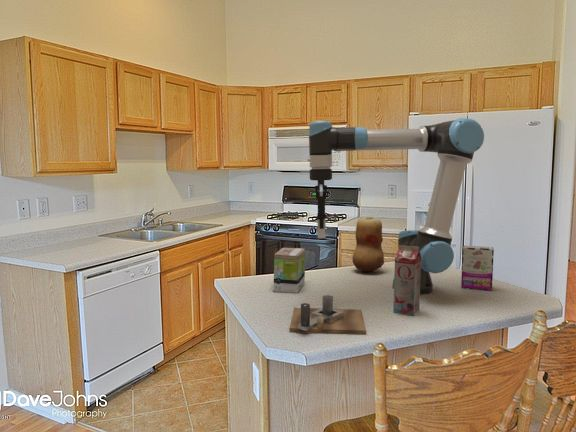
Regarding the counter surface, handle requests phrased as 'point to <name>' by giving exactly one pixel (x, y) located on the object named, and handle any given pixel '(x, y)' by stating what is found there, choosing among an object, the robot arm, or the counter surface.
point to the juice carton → (407, 280)
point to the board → (346, 325)
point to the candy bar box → (477, 267)
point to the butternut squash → (368, 245)
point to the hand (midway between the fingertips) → (321, 237)
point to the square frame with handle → (309, 324)
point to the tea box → (289, 270)
